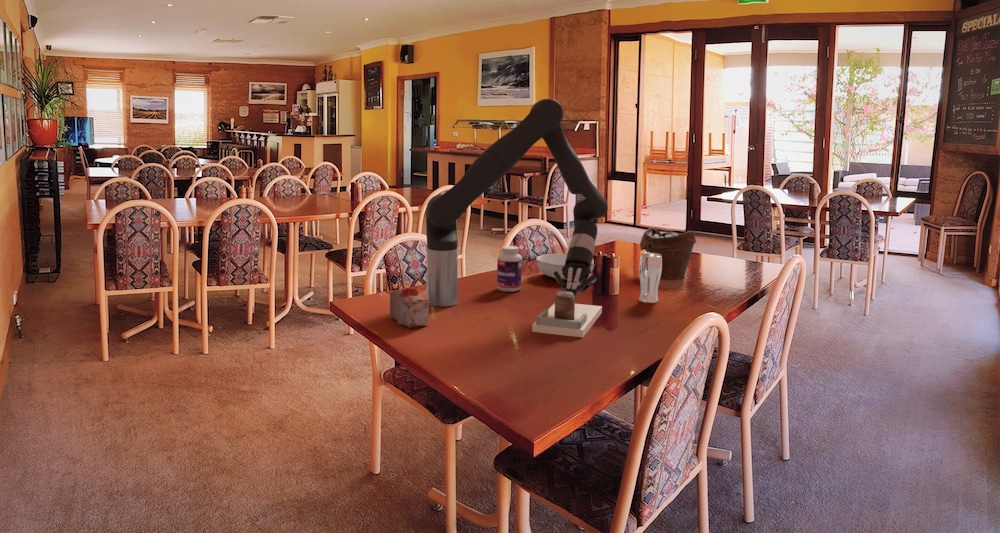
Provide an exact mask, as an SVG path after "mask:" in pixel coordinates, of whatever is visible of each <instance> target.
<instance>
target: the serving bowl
mask: <svg viewBox="0 0 1000 533" xmlns="http://www.w3.org/2000/svg"><path fill="white" fill-rule="evenodd" d="M566 257H567V253H547V254H541V255H537V257H536V264H537V267H538V270H539V271H540V272H541V273H542V274H544V275H545V276H547V277H551V278H553V279H555V276H554V272H555V271H557V272H559V271H561V270H562V268H563V267H564V265H565V261H566ZM593 259H594V258H592V263H591V268H590V270H591V272H592V271H593V269H594V267H595V264H594V260H595V259H594V260H593ZM562 276H563V278H562V280H563V281H567V280H566V278H565V276H564V274H563V275H562Z"/></svg>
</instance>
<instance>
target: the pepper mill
mask: <svg viewBox="0 0 1000 533" xmlns="http://www.w3.org/2000/svg"><path fill="white" fill-rule="evenodd" d="M554 303H555V314H554V319H564V320H573V321H574V311H575V304H576V299H575V296H574V295H573V293H572V292H568V291H563V290H562V291H557V292H556V294H555V295H554Z"/></svg>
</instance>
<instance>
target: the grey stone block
mask: <svg viewBox="0 0 1000 533" xmlns="http://www.w3.org/2000/svg"><path fill="white" fill-rule="evenodd" d="M429 313H430V306H429V302H428V299H427V298H425V297H424V296H421V295H420V293H419V291H418V290H417V289H415V288H413V289H412V288H410V287H407V288H404V289H402V288H401V289H395V290H392V291H390V293H389V316H390V318H391V319H393V320H395V321H397V325H400V326H401V325H403V326H405V327H407V328H410V329H413V328H422V327H423V328H424V327H428V321H429Z"/></svg>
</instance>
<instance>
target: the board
mask: <svg viewBox="0 0 1000 533" xmlns="http://www.w3.org/2000/svg"><path fill="white" fill-rule="evenodd" d="M554 314H555V302H554V303H553V304H552V305H550V307H549V308H548V309H544V310H543V311H542V312H541V313H539V315H537V316H536V318H535V319H536V320H535V321H534V322H533V323H532V324H531V327H532V328H531V332H533V333H539V334H541V333H542V334H550V335H557V336H565V337H566V336H567V337H575V338H576V337H577V338H584V337H585V335H586V334H587V333H588V332H589V330H591V327H592V326H593V325H594V324H595V322H596V321H597V320H598V318H599V317H600V316H601V314H603V306H602V305H593V304H583V303H582V304H581V303H575V311H574V321H573V320H564V319H554Z"/></svg>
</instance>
